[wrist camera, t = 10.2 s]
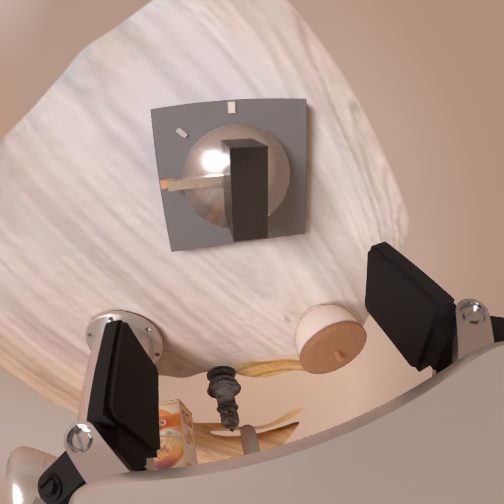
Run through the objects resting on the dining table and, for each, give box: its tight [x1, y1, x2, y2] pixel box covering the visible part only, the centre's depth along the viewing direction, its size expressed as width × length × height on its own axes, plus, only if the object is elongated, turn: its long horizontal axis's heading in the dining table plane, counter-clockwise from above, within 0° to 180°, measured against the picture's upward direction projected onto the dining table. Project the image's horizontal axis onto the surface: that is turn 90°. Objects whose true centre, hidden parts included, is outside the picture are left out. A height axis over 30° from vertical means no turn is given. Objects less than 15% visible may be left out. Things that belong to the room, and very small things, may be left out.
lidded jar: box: [295, 304, 367, 374], centre depth 41 cm, size 11×11×9 cm
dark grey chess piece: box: [207, 366, 241, 432], centre depth 42 cm, size 6×6×12 cm
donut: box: [240, 425, 260, 455], centre depth 56 cm, size 10×3×10 cm, turn 179°
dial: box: [167, 123, 290, 242], centre depth 26 cm, size 12×11×8 cm
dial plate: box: [151, 99, 307, 252], centre depth 30 cm, size 16×16×2 cm
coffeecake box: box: [154, 399, 198, 470], centre depth 42 cm, size 15×7×20 cm, turn 103°
